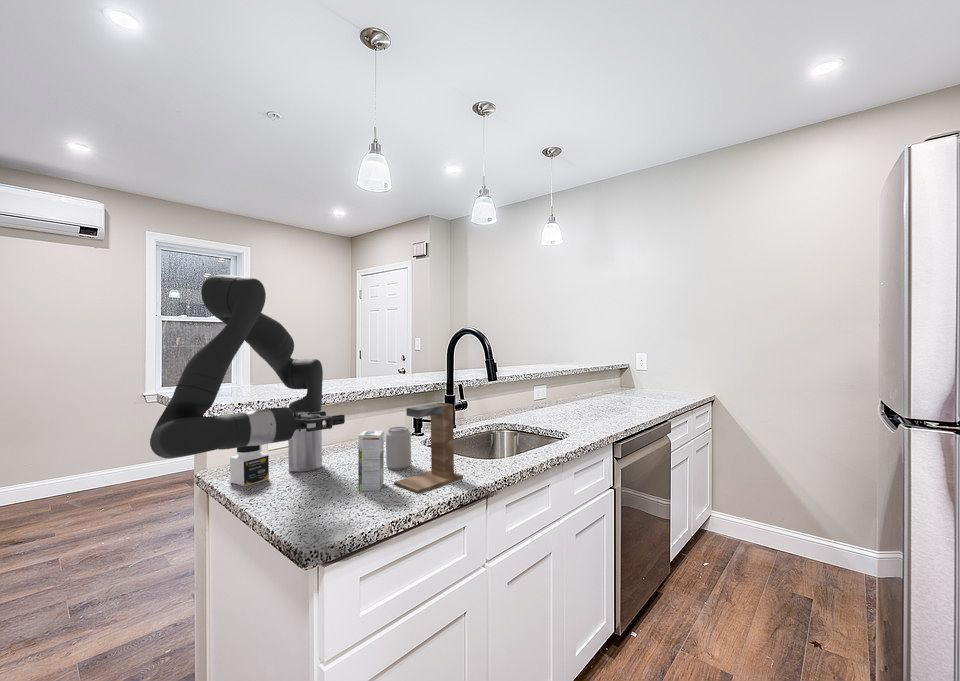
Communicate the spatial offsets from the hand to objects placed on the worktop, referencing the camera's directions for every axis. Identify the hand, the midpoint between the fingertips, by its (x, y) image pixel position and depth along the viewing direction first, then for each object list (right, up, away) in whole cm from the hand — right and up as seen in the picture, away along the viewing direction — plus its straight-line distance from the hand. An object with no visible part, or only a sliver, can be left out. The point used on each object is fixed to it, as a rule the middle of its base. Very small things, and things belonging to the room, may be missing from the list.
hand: (334, 417), depth 106 cm
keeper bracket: (+22, -20, +12) cm, 32 cm away
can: (+11, -20, +26) cm, 35 cm away
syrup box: (+7, -20, +8) cm, 23 cm away
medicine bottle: (-28, -21, +14) cm, 38 cm away
